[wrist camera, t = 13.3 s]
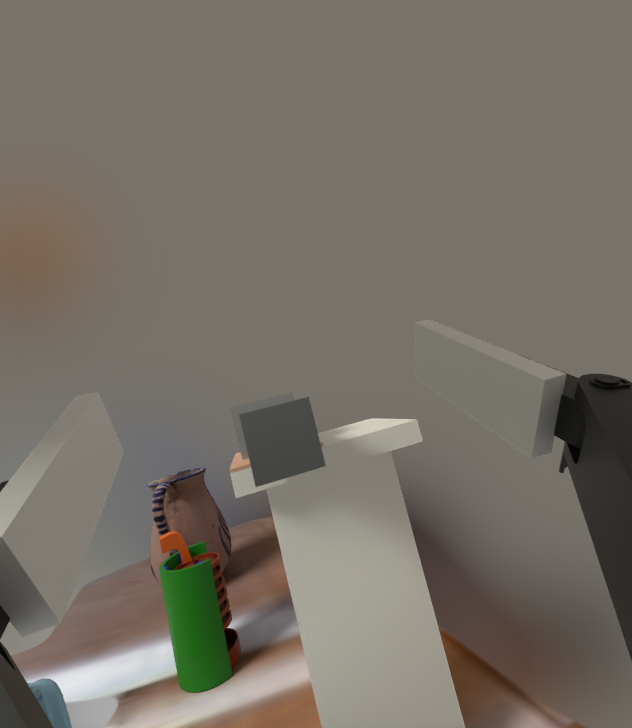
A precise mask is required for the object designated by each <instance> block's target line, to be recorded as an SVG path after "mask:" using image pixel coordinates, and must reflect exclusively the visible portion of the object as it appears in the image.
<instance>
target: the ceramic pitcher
mask: <svg viewBox="0 0 632 728" xmlns="http://www.w3.org/2000/svg"><path fill="white" fill-rule="evenodd" d="M205 470H206V469H205V468H198V469H194V470H192V471H190V470H186V471H183V472H178V474H176V475H172V476H166V477H161V478H159V479H157V480H154V481H152V482H150V483H149V484H148V485H147V486H148V487H149V488H151V489H152V490H153V492H154V494H153V499H152V513H153V518H154V520H153V528H152V536H151V546H150V564H151V569H152V572H153V575H154V577H155V579H156V580H157V582H158V583H159V584H160V586H161V587H162V583H161V578H160V572H159V567H160V565H161V564H162V563H163V562H164V561H165V560H166V559H167V558H169V557H170V556H172V555H173V554H175V553H177V552H179V551H178V549H171V550H169V551H168V552H166V553H164V554H162V551H161V545H160V539H159V537H161V536H162V535H164V534H166V533H168V532H171V531H177V532H179V533H180V534H181V535H182V537H183V539H184V541H185V543H186V545H187V547H189V546H192V545H195V544H198V543H201V542H204V541H205V543H206V548H207V553H208V552H217V553H219V554H220V559H221V560H220V563H219V564H221V565H222V569H223V571H224V569H225V567H226V565H227V563H228V561H229V558H230V553H231V538H230V534H229V530H228V527H227V525H226V522H225V519H224V518H223V515H222V513H221V511H220V510H219V508H218V506H217V505H216V503H215V501H214V499H213V498H212V496H211V494H210V493H209V491H208V489H207V487H206V485H205V482H204V473H205Z"/></svg>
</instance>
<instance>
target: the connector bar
mask: <svg viewBox="0 0 632 728" xmlns="http://www.w3.org/2000/svg"><path fill="white" fill-rule="evenodd" d="M231 412H232V416H233V420H234V425H235V429H236V434H237V438H238V443H239V447H240V451H241V456H242V460H244V459H248V458H249V460H250V465H251V469H252V473H253V478H254V482H255V487H258V486H262V485H265V484H268V483H272V482H275V481H278V480H282V479H285V478H288V477H292V476H295V475H298V474H301V473H305V472H308V471H311V470H315V469H318V468H321V467H325V466H326V465H325V461H324V457H323V453H322V449H321V445H320V441H319V437H318V433H317V429H316V426H315V421H314V417H313V413H312V409H311V405H310V401H309V397H307V398H303V399H299V400H295V401H294V399H293V395H292V393H288V394H283V395H279V396H275V397H271V398H267V399H263V400H259V401H255V402H251V403H247V404H243V405H239V406H235V407H231Z"/></svg>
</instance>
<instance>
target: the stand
mask: <svg viewBox="0 0 632 728" xmlns="http://www.w3.org/2000/svg"><path fill="white" fill-rule="evenodd" d="M318 437H319V441H320V445H321V449H322V453H323V457H324V461H325V465H326V466H325V467H321V468H318V469H315V470H311V471H308V472H305V473H301V474H298V475H295V476H292V477H288V478H285V479H282V480H278V481H275V482H272V483H268V484H265V485H262V486H258V487H255V482H254V478H253V473H252V469H251V465H250V460H249V458H248V459H244V460H242V456H241V452H240V453H236V454H235V456H234V459H233V462H232V464H231V467H230V474H231V479H232V482H233V487H234V492H235V496H236V498H238V497H241V496H244V495H248V494H251V493H254V492H258V491H260V490H264V489H267V493H268V498H269V502H270V506H271V511H272V514H273V519H274V523H275V528H276V532H277V536H278V541H279V545H280V549H281V554H282V558H283V562H284V567H285V571H286V575H287V580H288V584H289V588H290V593H291V597H292V601H293V605H294V610H295V614H296V618H297V623H298V627H299V631H300V636H301V640H302V644H303V649H304V653H305V657H306V662H307V666H308V670H309V675H310V679H311V683H312V688H313V692H314V696H315V700H316V705H317V709H318V713H319V718H320V722H321V726H322V728H465V725H464V721H463V717H462V713H461V710H460V706H459V702H458V699H457V695H456V691H455V688H454V684H453V680H452V677H451V673H450V669H449V665H448V662H447V658H446V654H445V651H444V647H443V643H442V640H441V636H440V632H439V629H438V625H437V621H436V617H435V614H434V610H433V606H432V603H431V599H430V595H429V592H428V588H427V584H426V581H425V577H424V573H423V569H422V566H421V562H420V558H419V555H418V551H417V547H416V544H415V541H414V536H413V533H412V529H411V525H410V521H409V518H408V514H407V510H406V507H405V503H404V499H403V496H402V492H401V488H400V485H399V481H398V477H397V474H396V470H395V466H394V462H393V459H392V455H391V450H395V449H398V448H401V447H405V446H408V445H411V444H415V443H418V442H421V441H423V440H422V437H421V433H420V429H419V426H418V422H417V420H415V419H368V420H364V421H361V422H357V423H354V424H350V425H346V426H343V427H339V428H336V429H332V430H328V431H325V432H321V433H318Z"/></svg>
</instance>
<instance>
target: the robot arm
mask: <svg viewBox="0 0 632 728" xmlns="http://www.w3.org/2000/svg"><path fill="white" fill-rule="evenodd" d="M415 378H417V379H418V380H420V381H421V382H423V383H424V384H425V385H427V386H428V387H430V388H431V389H432V390H434V391H435V392H437V393H439V394H440V395H441V396H442V397H444V398H445V399H447V400H448V401H450V402H451V403H452V404H454V405H455V406H457V407H458V408H460V409H461V410H462V411H464V412H465V413H467V414H468V415H470V416H471V417H472V418H474V419H475V420H477V421H478V422H480V423H481V424H482V425H484V426H485V427H487V428H488V429H489V430H491V431H492V432H494V433H495V434H497V435H498V436H499V437H501V438H502V439H504V440H505V441H507V442H508V443H509V444H511V445H512V446H514V447H515V448H517V449H518V450H519V451H521V452H522V453H524V454H525V455H527V456H528V457H529V458H531V459H533V458H536V457H539V456H542V455H545V454H548V453H551V451H552V446H553V441H554V436H557V437H558V438H560V439H562V440H564V441H565V444H564V449H563V454H562V458H561V463H560V468H559V472H561V473H563V472H564V468H566V467H567V466H568V468H569V471H570V474H571V478H572V481H573V483H574V487H575V489H576V493H577V496H578V499H579V502H580V505H581V508H582V511H583V514H584V517H585V520H586V523H587V526H588V529H589V532H590V535H591V538H592V541H593V544H594V547H595V550H596V553H597V556H598V560H599V563H600V566H601V569H602V572H603V574H604V578H605V581H606V584H607V586H608V590H609V593H610V596H611V599H612V602H613V605H614V608H615V611H616V614H617V617H618V620H619V623H620V626H621V629H622V632H623V636H624V639H625V642H626V645H627V647H628V650H629V654H630V657H631V660H632V383H631V382H630V381H628V380H626V379H623V378H620V377H615V376H612V375H605V374H588V375H582V376H581V377H579V378H577V377H574V376H572V375H569V374H567V373H564V372H561V371H559V370H557V369H554V368H551V367H549V366H546V365H543V364H541V363H539V362H536V361H533V360H531V359H529V358H526V357H524V356H521V355H518V354H515V353H512V352H510V351H508V350H505V349H503V348H500V347H497V346H495V345H493V344H490V343H488V342H485V341H483V340H480V339H477V338H475V337H472V336H470V335H467V334H465V333H462V332H460V331H457V330H455V329H452V328H450V327H447V326H445V325H442V324H440V323H437V322H435V321H432V320H430V319H429V320H424V321H420V322H415ZM123 453H124V452H123V449H122V447H121V445H120V442H119V440H118V438H117V436H116V433H115V431H114V428H113V426H112V423H111V421H110V419H109V416H108V414H107V412H106V410H105V407H104V405H103V402H102V400H101V398H100V395H99V393H98V392H95V393H90V394H85V395H81V396H76V397H74V399H73V400H72V401H71V403H70V404H69V405H68V406H67V408H66V409H65V410H64V411H63V413H62V414H61V415H60V417H59V418H58V419H57V420H56V422H55V423H54V424H53V425H52V427H51V428H50V429H49V431H48V432H47V433H46V434H45V436H44V437H43V438H42V439H41V441H40V442H39V443H38V445H37V446H36V447H35V448H34V450H33V451H32V453H31V454H30V455H29V456H28V457H27V459H26V460H25V461H24V462H23V464H22V465H21V466H20V468H19V469H18V470H17V471H16V473H15V474H14V475H13V477H12V478H11V479H10V480H9V481H5V482H2V483H1V484H0V638H1V636H2V634H3V632H4V630H5V628H6V626H7V624H8V622H9V621H10V622H11V623H12V625H13V626H14V627H15V628H16V630H17V631H18V632H19V634H20V635H21V636H22V637H24V636H27V635H29V634H32V633H35V632H38V631H41V630H44V629H47V628H50V627H52V626H55V625H58V624H61V622H62V619H63V616H64V614H65V611H66V608H67V605H68V603H69V600H70V597H71V595H72V592H73V589H74V586H75V584H76V581H77V578H78V575H79V573H80V570H81V567H82V565H83V562H84V559H85V556H86V554H87V551H88V548H89V546H90V543H91V540H92V537H93V535H94V532H95V529H96V527H97V524H98V521H99V518H100V515H101V513H102V510H103V507H104V504H105V502H106V499H107V496H108V494H109V491H110V488H111V486H112V483H113V480H114V477H115V475H116V472H117V469H118V467H119V464H120V461H121V458H122V456H123ZM0 728H72V727H71V723H70V718H69V715H68V711H67V708H66V704H65V701H64V699H63V695H62V693H61V691H60V689H59V687H58V685H57V684H56V682H54V681H53V680H51V679H40V680H38V681H35V682H33V683H27V682H26V681H25V679H24V677H23V676H22V674H21V672H20V671H19V669H18V667H17V666H16V664H15V663H14V661H13V659H12V658H11V656H10V654H9V653H8V651H7V649H6V648H5V647H4V646H3V645H2V643H1V642H0Z"/></svg>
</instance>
